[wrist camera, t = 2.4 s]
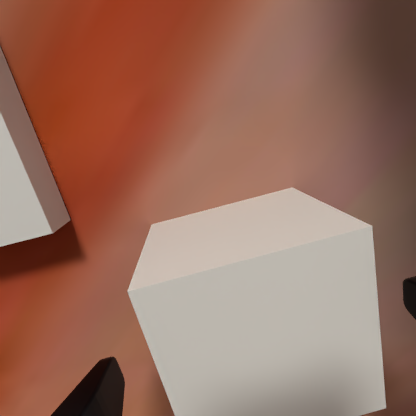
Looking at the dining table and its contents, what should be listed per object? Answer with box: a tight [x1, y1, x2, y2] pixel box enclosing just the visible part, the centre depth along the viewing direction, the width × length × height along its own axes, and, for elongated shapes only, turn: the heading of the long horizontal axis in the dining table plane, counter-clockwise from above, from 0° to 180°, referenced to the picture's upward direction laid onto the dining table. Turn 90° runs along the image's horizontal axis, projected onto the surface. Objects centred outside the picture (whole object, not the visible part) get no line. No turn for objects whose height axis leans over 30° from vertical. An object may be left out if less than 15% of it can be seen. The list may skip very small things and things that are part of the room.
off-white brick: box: [127, 188, 386, 416], centre depth 10 cm, size 6×6×5 cm
